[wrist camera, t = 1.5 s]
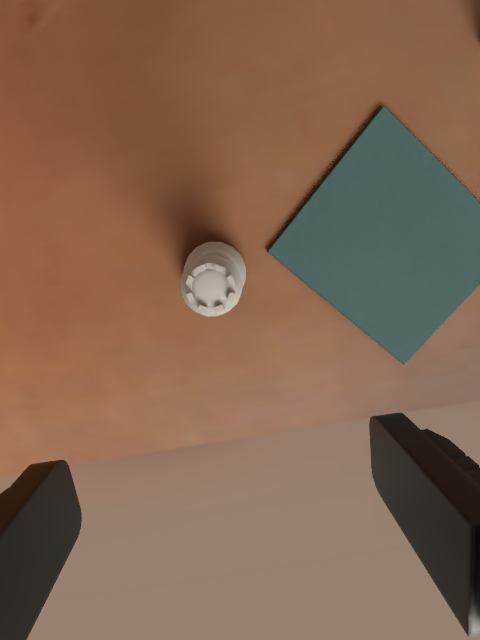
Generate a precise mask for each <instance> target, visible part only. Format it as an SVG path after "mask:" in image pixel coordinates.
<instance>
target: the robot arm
mask: <svg viewBox="0 0 480 640" xmlns="http://www.w3.org/2000/svg"><path fill="white" fill-rule="evenodd" d="M369 425H370V447H371V467H372V474H373V479H374V482H375V485H376V488H377V490H378V492H379V494H380V496H381V497H382V499H383V501H384V502H385V504H386V506H387V507H388V509H389V510H390V512H391V514H392V515H393V517H394V518H395V520H396V522H397V523H398V525H399V526H400V528H401V530H402V531H403V533H404V534H405V536H406V538H407V539H408V541H409V542H410V544H411V546H412V547H413V549H414V550H415V552H416V554H417V555H418V557H419V558H420V560H421V562H422V563H423V565H424V566H425V568H426V570H427V571H428V573H429V574H430V576H431V578H432V579H433V581H434V582H435V584H436V586H437V587H438V589H439V590H440V592H441V594H442V595H443V597H444V598H445V600H446V602H447V603H448V605H449V606H450V608H451V610H452V611H453V613H454V614H455V616H456V618H457V619H458V621H459V622H460V624H461V626H462V627H463V629H464V630H465V632H466V634H467V635H468V637H470V636H477V635H480V468H479V465H478V464H477V463H475V462H474V461H473V460H472V459H471V458H470V457H469V456H467V457H466V455H465V453H464V452H463V451H461V450H460V449H459V448H458V447H457V446H456V445H455V444H453V443H452V442H451V441H450V440H449V439H447V438H445V437H443V436H441V435H439V434H436V433H434V432H432V431H430V430H428V429H425V430H420V429H419V428H418V427H417V426H416V425H415V424H414V423H412V421H410V420H409V419H408V418H407V417H406V416H405V415H404V414H403V413H393V414H386V415H379V416H373V417H371V419H370V424H369ZM81 518H82V517H81V508H80V505H79V501H78V497H77V494H76V490H75V486H74V483H73V479H72V476H71V472H70V469H69V466H68V464H67V462H66V461H64V460H57V461H50V462H43V463H36V464H31V465H30V466H29V467H28V468H27V469H26V470H25V471H24V472H23V473H22V474H21V475H20V477H19V478H18V479H17V480H16V481H15V482H14V483H13V484H12V485H11V487H10V488H8V489H6V490H5V491H4V492H2V493H1V494H0V640H26V639H27V637H28V635H29V633H30V632H31V629H32V627H33V625H34V624H35V621H36V619H37V618H38V616H39V614H40V611H41V609H42V607H43V606H44V604H45V602H46V599H47V598H48V596H49V594H50V591H51V589H52V588H53V586H54V584H55V582H56V580H57V578H58V576H59V574H60V572H61V570H62V568H63V566H64V564H65V561H66V560H67V558H68V556H69V554H70V552H71V550H72V548H73V546H74V544H75V542H76V540H77V538H78V535H79V531H80V528H81Z"/></svg>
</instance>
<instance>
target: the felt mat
mask: <svg viewBox="0 0 480 640" xmlns="http://www.w3.org/2000/svg"><path fill="white" fill-rule="evenodd" d="M267 252H268V253H269V254H270V255H272V256H273V257H274V258H275V259H276V260H278V261H279V262H280V263H281V264H283V265H284V266H285V267H286V268H287V269H289V270H290V271H291V272H292V273H293V274H295V275H296V276H297V277H298V278H299V279H301V280H302V281H303V282H304V283H306V284H307V285H308V286H309V287H310V288H312V289H313V290H314V291H315V292H316V293H318V294H319V295H320V296H321V297H322V298H324V299H325V300H326V301H327V302H329V303H330V304H331V305H332V306H333V307H335V308H336V309H337V310H338V311H339V312H341V313H342V314H343V315H344V316H345V317H347V318H348V319H349V320H350V321H351V322H353V323H354V324H355V325H356V326H358V327H359V328H360V329H361V330H362V331H364V332H365V333H366V334H367V335H368V336H370V337H371V338H372V339H373V340H374V341H376V342H377V343H378V344H379V345H381V346H382V347H383V348H384V349H385V350H387V351H388V352H389V353H390V354H391V355H393V356H394V357H395V358H396V359H397V360H399V361H400V362H401V363H402V364H405V363H406V362H407V361H408V360H409V359H410V358H411V357H412V356H413V355H414V354H415V352H416V351H417V350H418V349H419V348H420V347H421V346H422V345H423V344H424V343H425V342H426V341H427V340H428V339H429V338H430V337H431V335H432V334H433V333H434V332H435V331H436V330H437V329H438V328H439V327H440V326H441V325H442V324H443V323H444V322H445V321H446V320H447V318H448V317H449V316H450V315H451V314H452V313H453V312H454V311H455V310H456V309H457V308H458V307H459V306H460V305H461V304H462V303H463V301H464V300H465V299H466V298H467V297H468V296H469V295H470V294H471V293H472V292H473V291H474V290H475V289H476V288H477V287H478V286H479V284H480V202H479V201H478V200H477V199H476V198H475V197H474V196H473V195H472V194H471V193H470V192H469V191H468V190H467V189H466V188H465V187H464V186H463V185H462V184H461V183H460V182H459V181H458V180H457V179H456V178H455V177H454V176H453V175H452V174H451V173H450V172H449V171H448V170H447V169H446V168H445V167H444V166H443V165H442V164H441V163H440V162H439V161H438V160H437V159H436V158H435V156H434V155H433V154H432V153H431V152H430V151H429V150H428V149H427V148H426V147H425V146H424V145H423V144H422V143H421V142H420V141H419V140H418V139H417V138H416V137H415V136H414V135H413V134H412V133H411V132H410V131H409V130H408V129H407V128H406V127H405V126H404V125H403V124H402V123H401V122H400V121H399V120H398V119H397V118H396V117H395V116H394V115H393V114H392V113H391V112H390V111H389V110H388V109H387V108H386V107H385V106H383V107H382V108H381V109H380V110H379V112H378V113H377V114H376V115H375V117H374V118H373V119H372V120H371V122H370V123H369V124H368V125H367V127H366V128H365V129H364V130H363V132H362V133H361V134H360V135H359V137H358V138H357V139H356V140H355V142H354V143H353V144H352V145H351V147H350V148H349V149H348V150H347V152H346V153H345V154H344V156H343V157H342V158H341V159H340V161H339V162H338V163H337V164H336V166H335V167H334V168H333V169H332V171H331V172H330V173H329V174H328V176H327V177H326V178H325V179H324V181H323V182H322V183H321V184H320V186H319V187H318V188H317V189H316V191H315V192H314V193H313V194H312V196H311V197H310V198H309V199H308V201H307V202H306V203H305V205H304V206H303V207H302V208H301V210H300V211H299V212H298V213H297V215H296V216H295V217H294V218H293V220H292V221H291V222H290V223H289V225H288V226H287V227H286V228H285V230H284V231H283V232H282V233H281V235H280V236H279V237H278V238H277V240H276V241H275V242H274V243H273V245H272V246H271V247H270V248H269V250H268V251H267Z"/></svg>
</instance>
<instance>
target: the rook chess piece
mask: <svg viewBox="0 0 480 640" xmlns="http://www.w3.org/2000/svg"><path fill="white" fill-rule="evenodd" d="M245 280H246V266H245V264H244V261H243V259H242V257H241V255H240V254H239V253H238V252H237V251H236V250H235V249H234V248H233V247H232V246H230V245H227V244H225V243H222V242H207V243H204V244H202V245H200V246H197V247H196V248H195V249H194V250H193V251H192V252H191V253H190V254H189V255H188V258H187V260H186V263H185V266H184V272H183V274H182V277H181V280H180V285H181V294H182V296H183V298H184V300H185V302H186V304H187V305H188V306H189V307H190V308H191V309H192V310H194V311H195V312H197V313H199V314H202V315H205V316H219V315H221V314H224V313H226V312H229V311H230V310H231V309H232V308H233V307H234V306H235V305H236V304H237V303H238V300H239V298H240V295H241V293H242V288H243V285H244V283H245Z"/></svg>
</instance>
